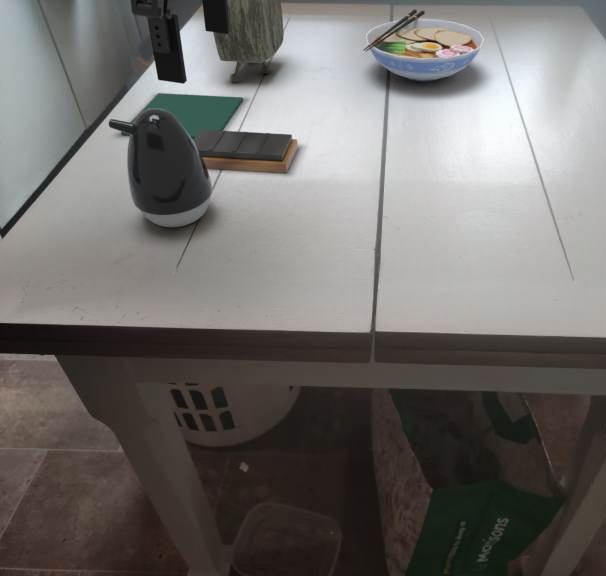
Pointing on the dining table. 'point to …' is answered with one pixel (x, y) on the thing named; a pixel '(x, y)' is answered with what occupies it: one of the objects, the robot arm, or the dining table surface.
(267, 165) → the whetstone on wooden base
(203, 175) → the pump dispenser
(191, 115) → the mat
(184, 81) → the robot arm
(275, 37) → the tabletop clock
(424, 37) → the ramen bowl
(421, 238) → the dining table surface
